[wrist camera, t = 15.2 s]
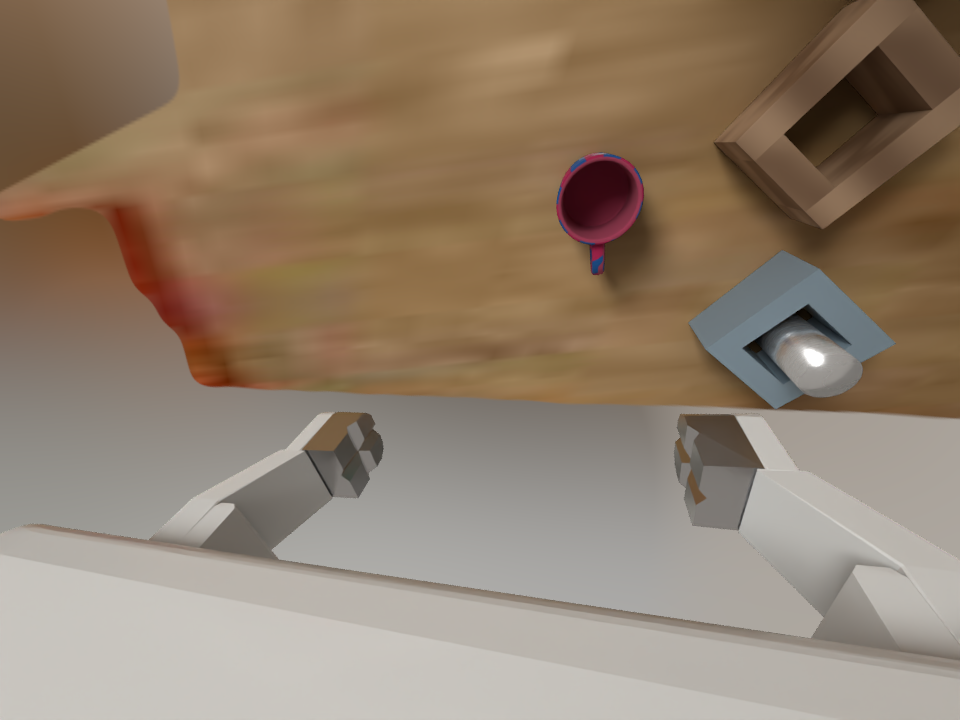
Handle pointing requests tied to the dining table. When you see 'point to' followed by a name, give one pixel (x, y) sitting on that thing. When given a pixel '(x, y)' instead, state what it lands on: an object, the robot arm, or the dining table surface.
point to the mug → (599, 202)
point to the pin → (810, 358)
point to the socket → (769, 303)
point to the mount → (884, 86)
